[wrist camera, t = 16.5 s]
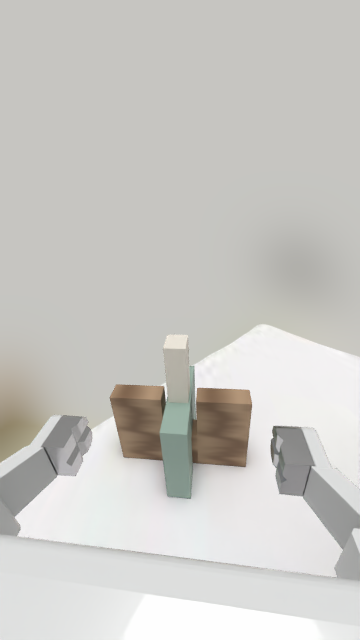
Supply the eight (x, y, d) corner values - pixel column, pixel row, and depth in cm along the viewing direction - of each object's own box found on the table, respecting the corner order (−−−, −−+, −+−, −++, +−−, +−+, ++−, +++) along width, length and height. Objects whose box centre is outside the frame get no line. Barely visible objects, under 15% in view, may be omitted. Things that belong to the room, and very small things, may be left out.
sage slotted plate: (195, 422, 42) (192, 318, 34) (190, 498, 32) (183, 375, 23) (178, 421, 43) (170, 318, 34) (167, 496, 32) (152, 374, 23)
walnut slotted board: (243, 450, 37) (249, 389, 32) (245, 466, 35) (252, 404, 30) (128, 442, 40) (116, 384, 34) (123, 457, 37) (109, 397, 32)
